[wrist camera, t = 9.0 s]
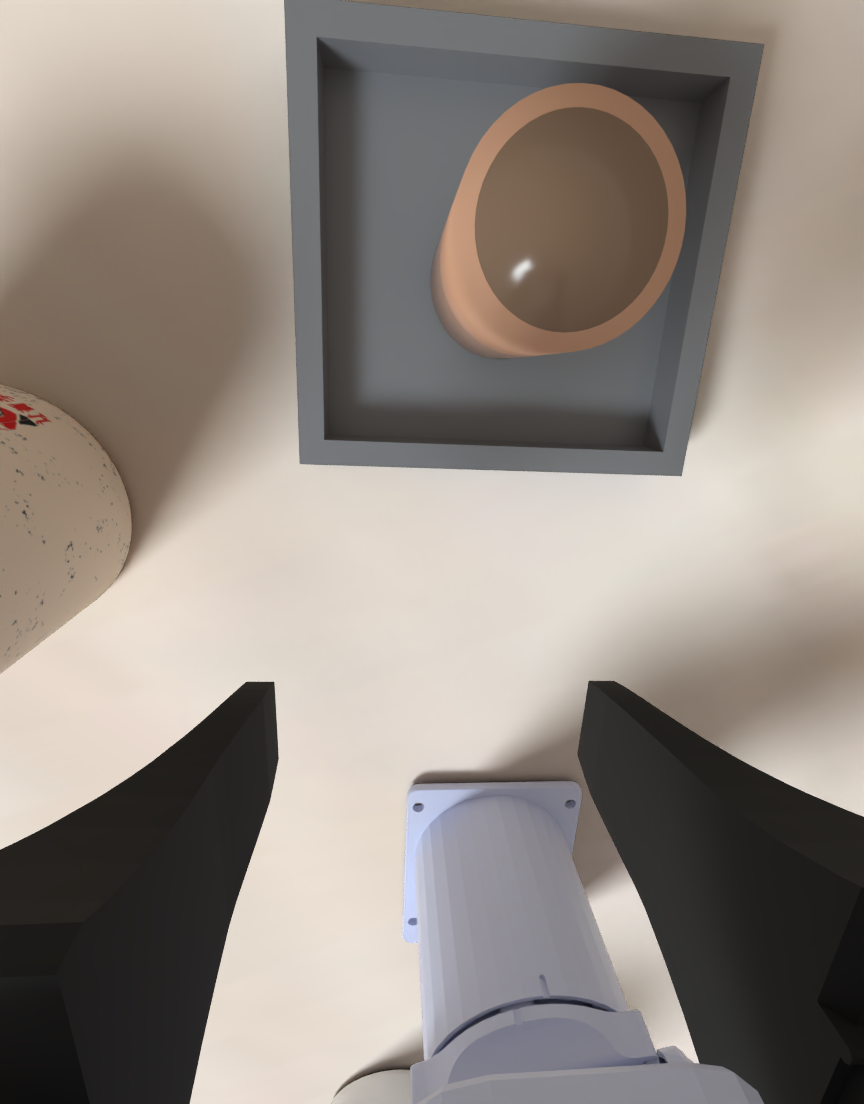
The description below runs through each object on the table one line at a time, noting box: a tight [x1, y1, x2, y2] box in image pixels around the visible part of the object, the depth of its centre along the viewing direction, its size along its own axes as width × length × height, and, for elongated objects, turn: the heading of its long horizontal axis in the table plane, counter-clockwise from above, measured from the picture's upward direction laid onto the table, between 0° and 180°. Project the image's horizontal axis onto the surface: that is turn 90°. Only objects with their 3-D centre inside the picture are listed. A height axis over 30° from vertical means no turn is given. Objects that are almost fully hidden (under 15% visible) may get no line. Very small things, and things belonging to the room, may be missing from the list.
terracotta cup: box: [430, 83, 686, 360], centre depth 14 cm, size 5×5×7 cm
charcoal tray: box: [284, 0, 764, 476], centre depth 17 cm, size 12×13×2 cm
